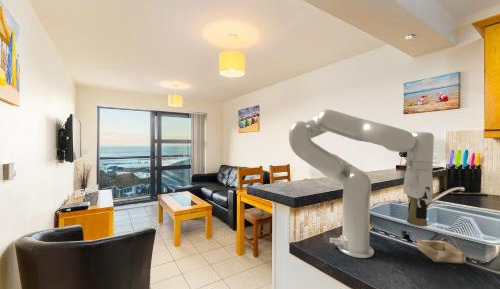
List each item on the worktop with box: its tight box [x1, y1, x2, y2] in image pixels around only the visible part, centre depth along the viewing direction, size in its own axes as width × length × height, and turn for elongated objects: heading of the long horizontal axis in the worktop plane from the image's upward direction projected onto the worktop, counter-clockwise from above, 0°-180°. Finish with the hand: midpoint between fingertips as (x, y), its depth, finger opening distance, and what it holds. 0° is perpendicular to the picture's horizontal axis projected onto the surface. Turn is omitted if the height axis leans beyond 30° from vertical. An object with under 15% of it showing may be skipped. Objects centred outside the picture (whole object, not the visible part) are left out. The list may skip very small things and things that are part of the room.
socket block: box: [416, 239, 467, 264], centre depth 84 cm, size 10×10×4 cm
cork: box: [406, 196, 428, 227], centre depth 82 cm, size 6×6×11 cm
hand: (417, 215), depth 82 cm, fingers closed on cork, 4 cm apart
